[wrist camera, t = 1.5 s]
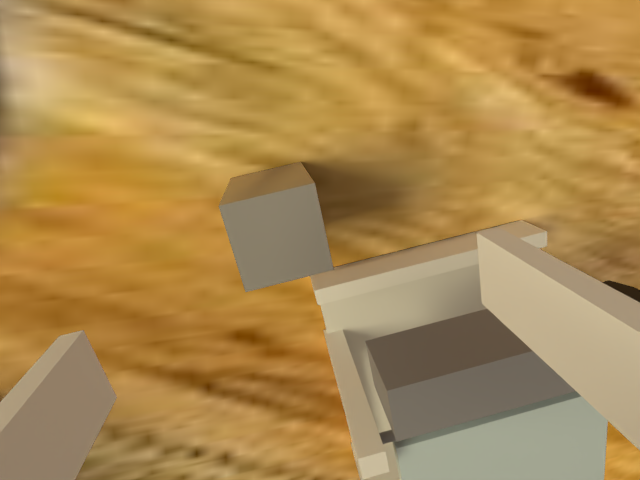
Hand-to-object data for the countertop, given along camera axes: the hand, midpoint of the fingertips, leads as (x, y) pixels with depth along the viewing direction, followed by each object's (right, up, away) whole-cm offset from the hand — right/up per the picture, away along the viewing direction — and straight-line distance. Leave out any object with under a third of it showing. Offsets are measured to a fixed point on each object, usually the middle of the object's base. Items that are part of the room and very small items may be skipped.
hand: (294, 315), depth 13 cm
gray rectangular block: (-2, +5, +15) cm, 16 cm away
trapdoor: (+11, -8, +14) cm, 20 cm away
